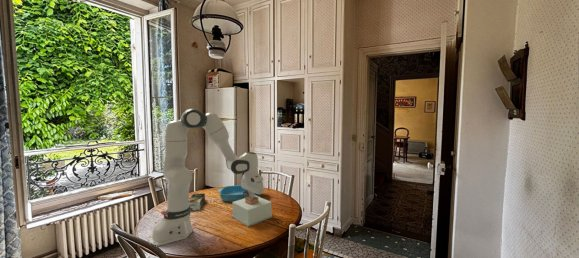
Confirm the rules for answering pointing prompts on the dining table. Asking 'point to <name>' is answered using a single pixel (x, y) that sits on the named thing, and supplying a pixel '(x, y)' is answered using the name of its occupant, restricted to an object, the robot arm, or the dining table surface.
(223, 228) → the dining table surface
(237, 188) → the casserole dish
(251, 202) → the plunger
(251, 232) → the dining table surface
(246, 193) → the small box
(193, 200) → the juice carton
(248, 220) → the housing
